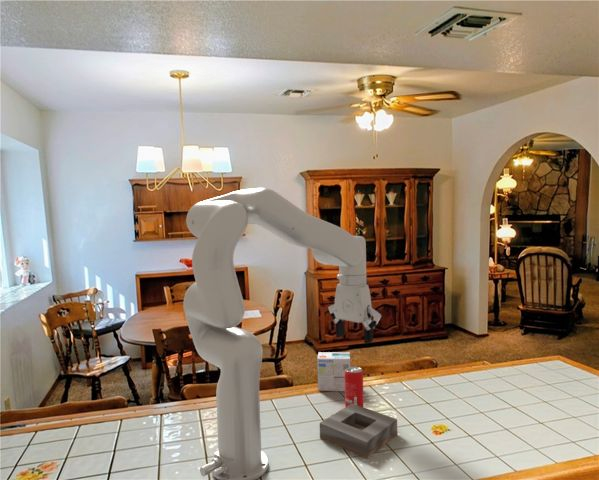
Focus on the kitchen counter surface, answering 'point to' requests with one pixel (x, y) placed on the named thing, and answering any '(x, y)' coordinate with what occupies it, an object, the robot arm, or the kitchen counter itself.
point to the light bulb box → (332, 370)
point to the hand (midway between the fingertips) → (354, 339)
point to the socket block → (358, 430)
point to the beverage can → (353, 386)
